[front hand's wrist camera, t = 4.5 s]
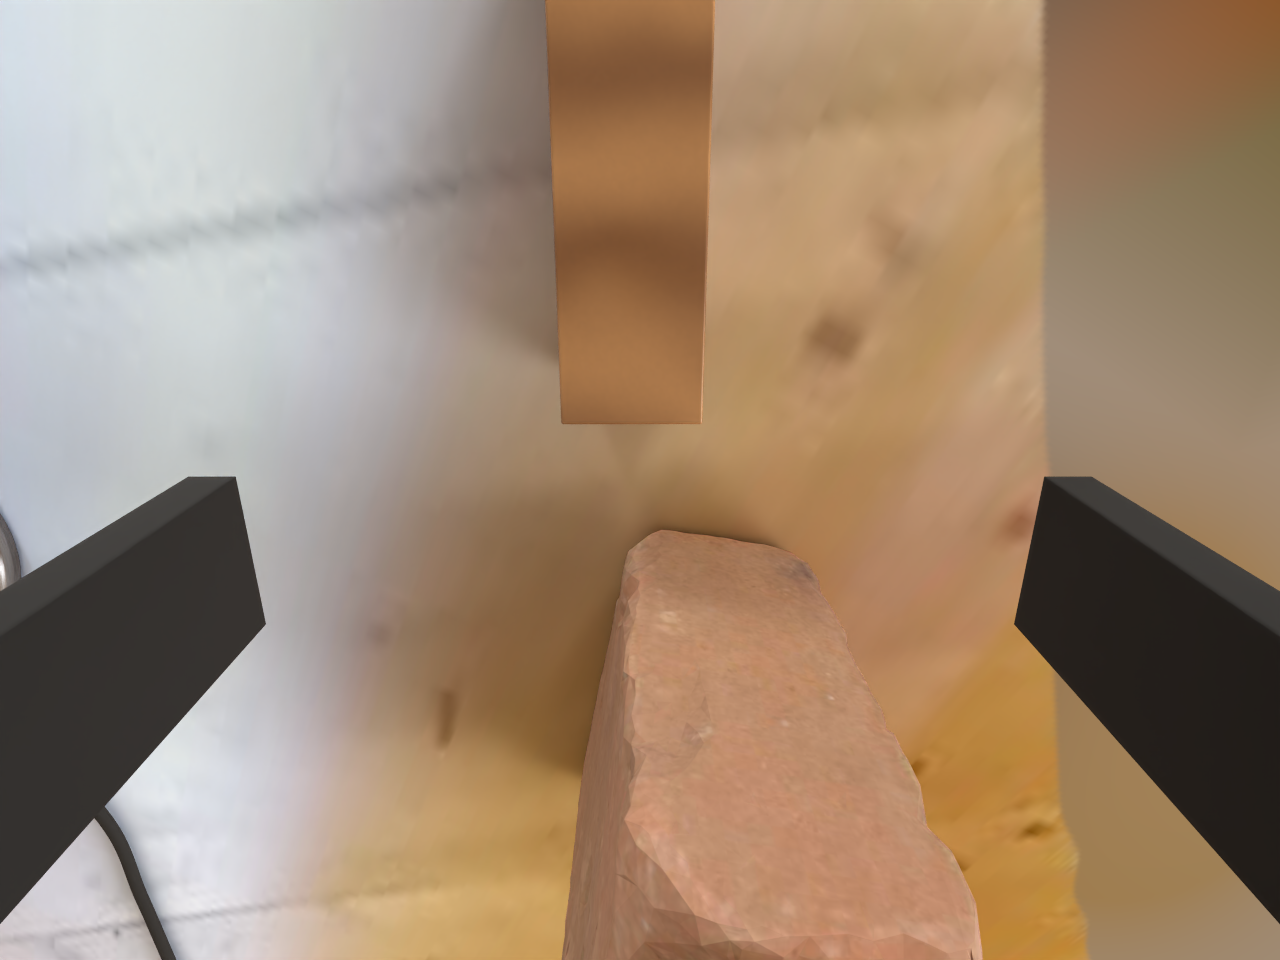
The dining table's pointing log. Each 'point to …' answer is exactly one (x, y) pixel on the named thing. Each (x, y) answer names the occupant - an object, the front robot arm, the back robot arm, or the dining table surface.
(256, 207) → the dining table surface
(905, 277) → the dining table surface
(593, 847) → the stone
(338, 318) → the dining table surface
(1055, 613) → the front robot arm
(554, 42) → the box
